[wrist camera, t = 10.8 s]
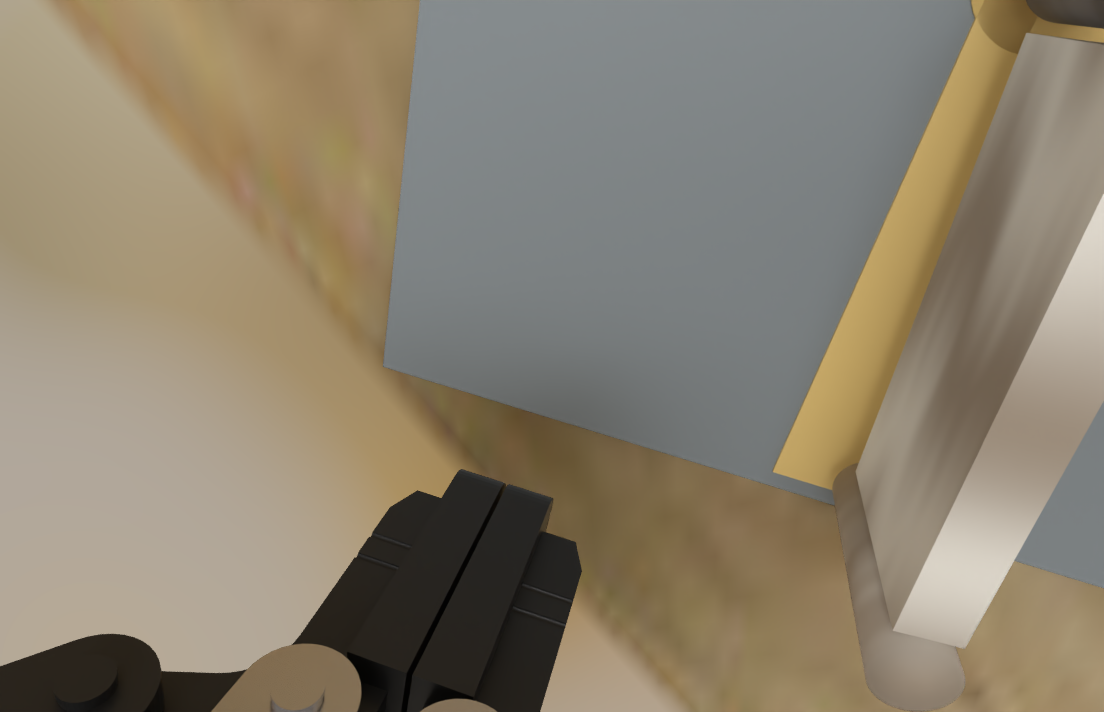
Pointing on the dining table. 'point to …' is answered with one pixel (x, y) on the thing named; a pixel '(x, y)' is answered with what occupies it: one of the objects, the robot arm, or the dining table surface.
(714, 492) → the dining table surface
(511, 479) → the dining table surface
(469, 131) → the card
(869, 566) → the hinged panel
